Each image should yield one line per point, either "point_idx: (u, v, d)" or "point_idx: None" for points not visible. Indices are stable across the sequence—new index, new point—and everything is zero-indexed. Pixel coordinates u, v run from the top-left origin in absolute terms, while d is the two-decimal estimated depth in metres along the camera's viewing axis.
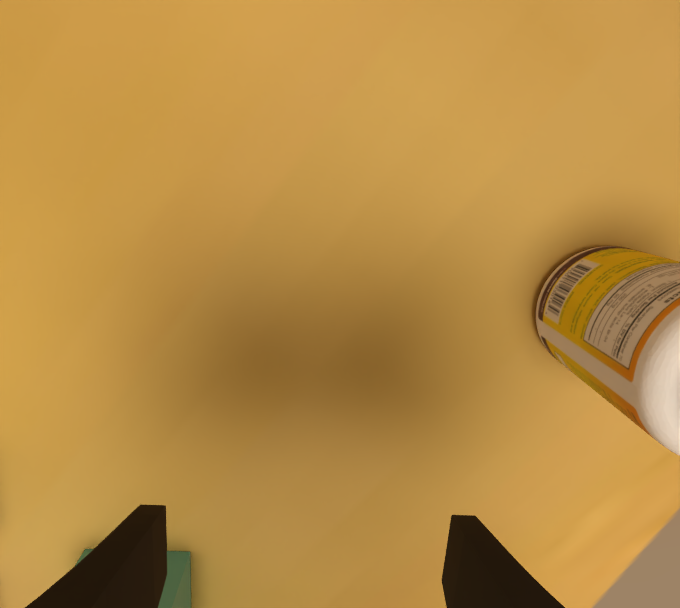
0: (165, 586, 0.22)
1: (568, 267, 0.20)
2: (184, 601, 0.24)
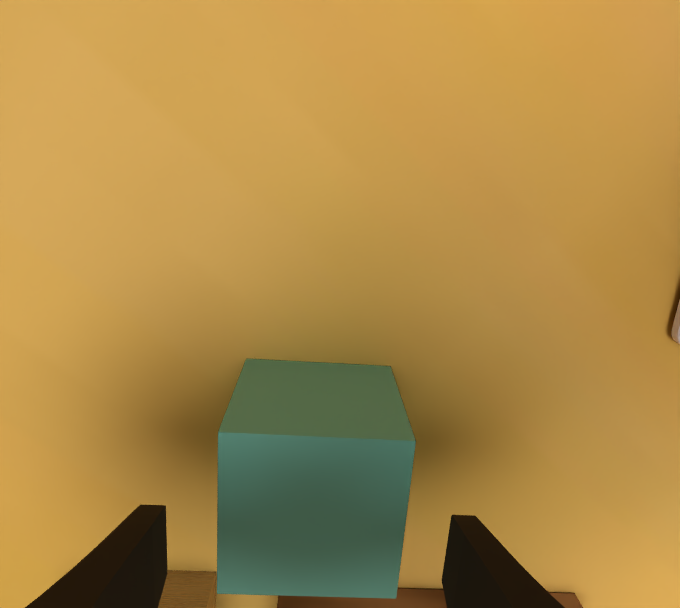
0: None
1: None
2: (297, 375, 0.16)
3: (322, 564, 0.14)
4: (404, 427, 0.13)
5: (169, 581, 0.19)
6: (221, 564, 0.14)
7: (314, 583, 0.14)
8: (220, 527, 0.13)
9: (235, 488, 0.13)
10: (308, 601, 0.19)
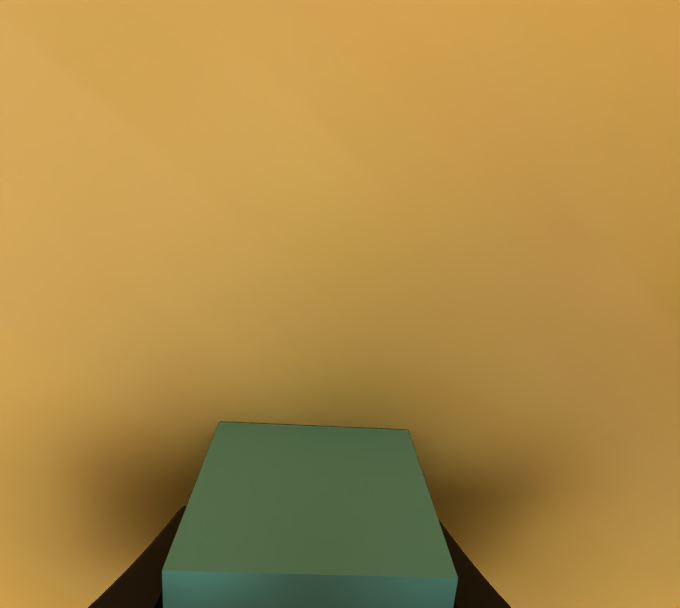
0: None
1: None
2: (285, 451, 0.12)
3: None
4: (438, 549, 0.09)
5: None
6: None
7: None
8: None
9: None
10: None
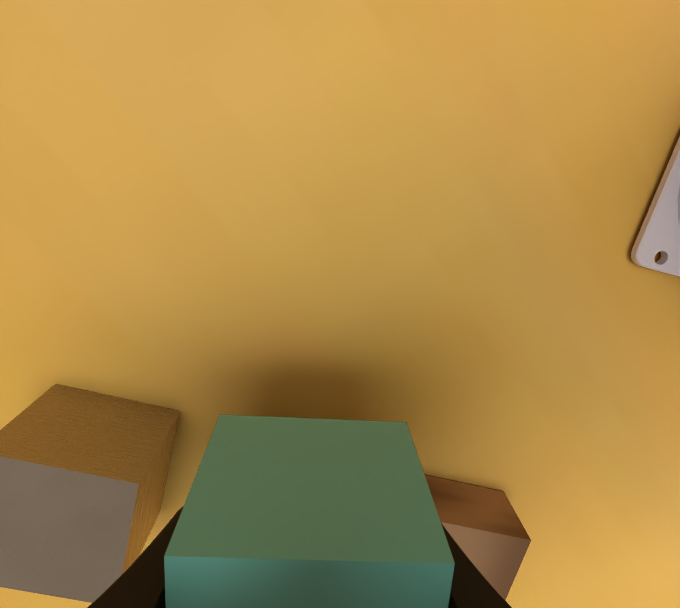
0: None
1: None
2: (285, 442, 0.12)
3: None
4: (435, 536, 0.09)
5: (135, 408, 0.20)
6: None
7: None
8: None
9: None
10: None
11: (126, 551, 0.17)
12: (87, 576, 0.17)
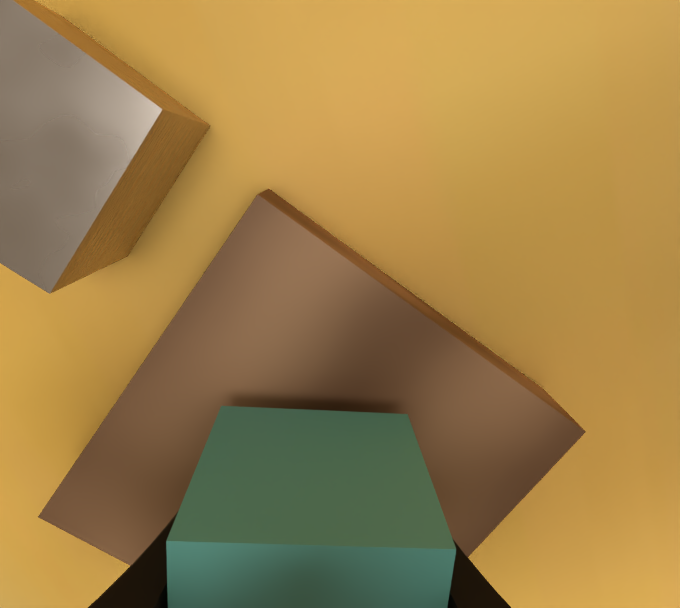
0: None
1: None
2: (286, 433, 0.12)
3: None
4: (437, 523, 0.09)
5: (158, 89, 0.15)
6: None
7: None
8: None
9: None
10: (298, 213, 0.15)
11: (99, 213, 0.11)
12: (27, 228, 0.11)
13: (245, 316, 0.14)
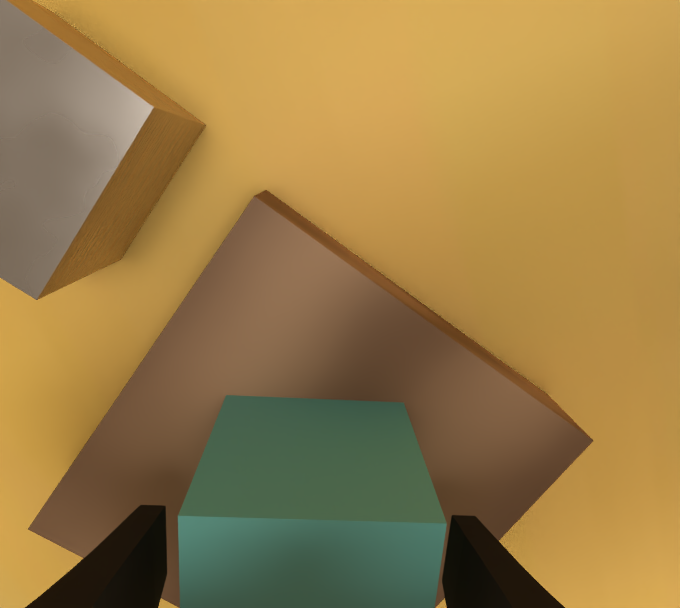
0: None
1: None
2: (288, 419, 0.13)
3: None
4: (429, 500, 0.10)
5: (152, 86, 0.14)
6: None
7: None
8: None
9: (203, 588, 0.10)
10: (296, 215, 0.15)
11: (88, 216, 0.11)
12: (13, 232, 0.11)
13: (242, 322, 0.13)
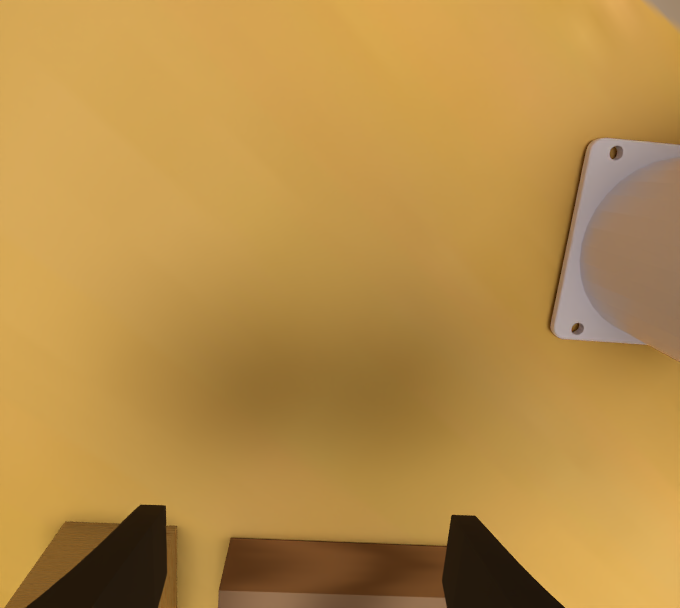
0: None
1: None
2: None
3: None
4: None
5: None
6: None
7: None
8: None
9: None
10: (254, 551, 0.23)
11: None
12: None
13: None
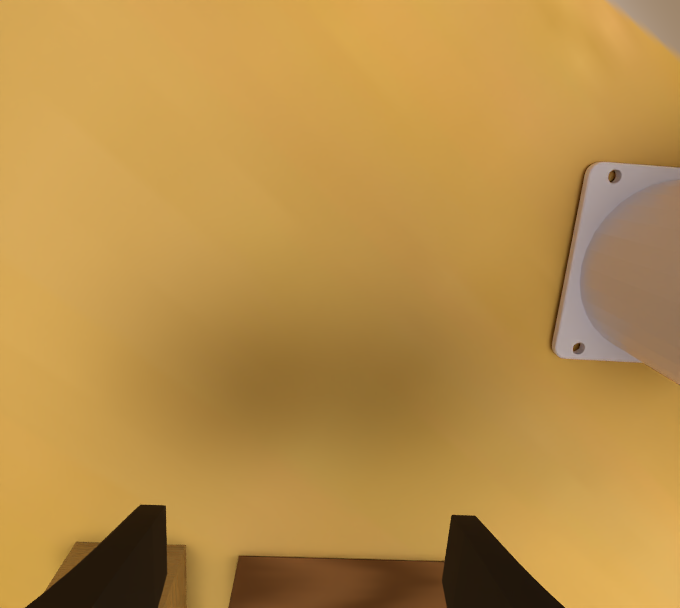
0: None
1: None
2: None
3: None
4: None
5: None
6: None
7: None
8: None
9: None
10: (262, 569, 0.23)
11: None
12: None
13: None
